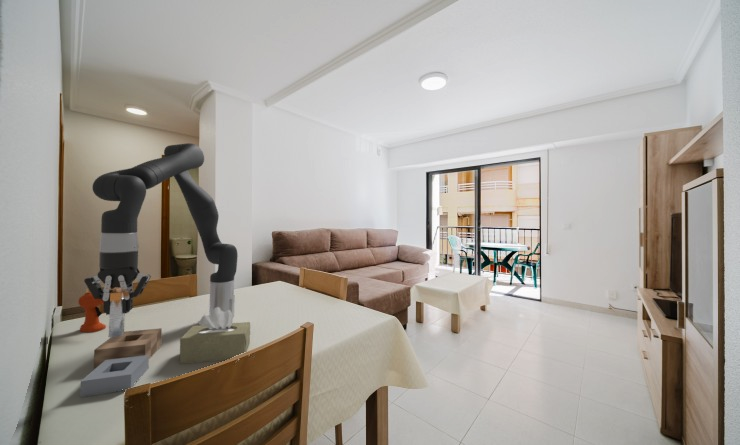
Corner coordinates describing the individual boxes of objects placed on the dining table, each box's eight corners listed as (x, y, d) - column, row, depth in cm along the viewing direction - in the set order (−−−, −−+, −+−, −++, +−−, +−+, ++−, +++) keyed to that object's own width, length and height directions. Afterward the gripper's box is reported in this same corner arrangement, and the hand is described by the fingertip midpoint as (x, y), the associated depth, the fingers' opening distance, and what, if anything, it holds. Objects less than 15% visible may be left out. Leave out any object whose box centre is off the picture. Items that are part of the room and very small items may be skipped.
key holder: (148, 368, 78) (148, 354, 78) (130, 389, 68) (131, 374, 68) (105, 374, 74) (105, 360, 74) (80, 397, 65) (80, 381, 65)
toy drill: (126, 329, 99) (122, 290, 99) (76, 334, 99) (71, 295, 99) (137, 324, 104) (133, 286, 104) (89, 328, 104) (85, 291, 103)
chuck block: (161, 345, 91) (161, 328, 91) (145, 363, 80) (145, 344, 80) (117, 350, 87) (117, 332, 87) (93, 370, 76) (94, 349, 76)
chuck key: (121, 338, 68) (123, 292, 69) (105, 341, 67) (107, 293, 67) (126, 329, 74) (127, 287, 74) (111, 332, 72) (113, 288, 73)
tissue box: (178, 364, 80) (179, 313, 80) (190, 349, 90) (191, 303, 89) (245, 358, 85) (246, 309, 85) (250, 343, 95) (251, 300, 94)
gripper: (75, 251, 65) (74, 321, 65) (145, 250, 69) (143, 315, 70) (94, 247, 72) (94, 310, 72) (157, 247, 76) (156, 306, 77)
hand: (118, 312), depth 71 cm, fingers closed on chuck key, 3 cm apart
